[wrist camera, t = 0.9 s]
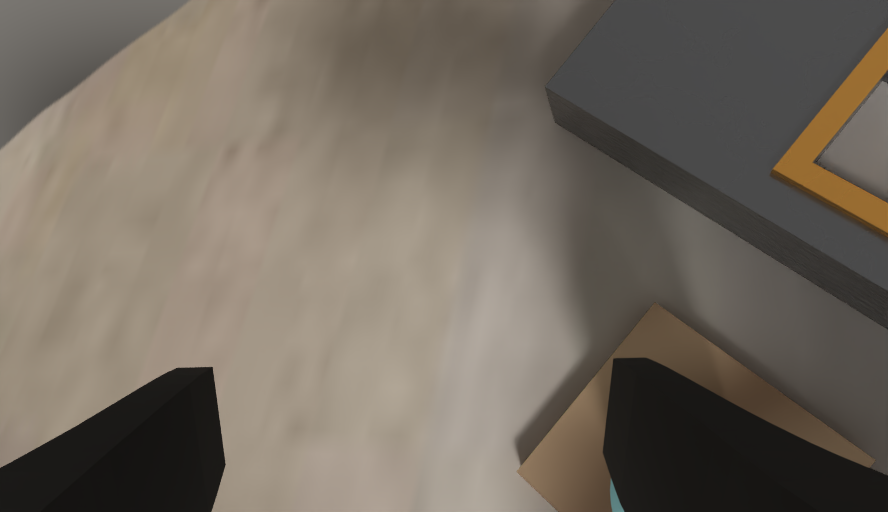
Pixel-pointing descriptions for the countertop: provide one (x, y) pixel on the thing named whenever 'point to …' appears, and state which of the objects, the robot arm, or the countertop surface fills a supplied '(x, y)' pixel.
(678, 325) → the brown square coaster
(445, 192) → the countertop surface
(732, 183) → the grey peg hole board
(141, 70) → the countertop surface
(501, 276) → the countertop surface
